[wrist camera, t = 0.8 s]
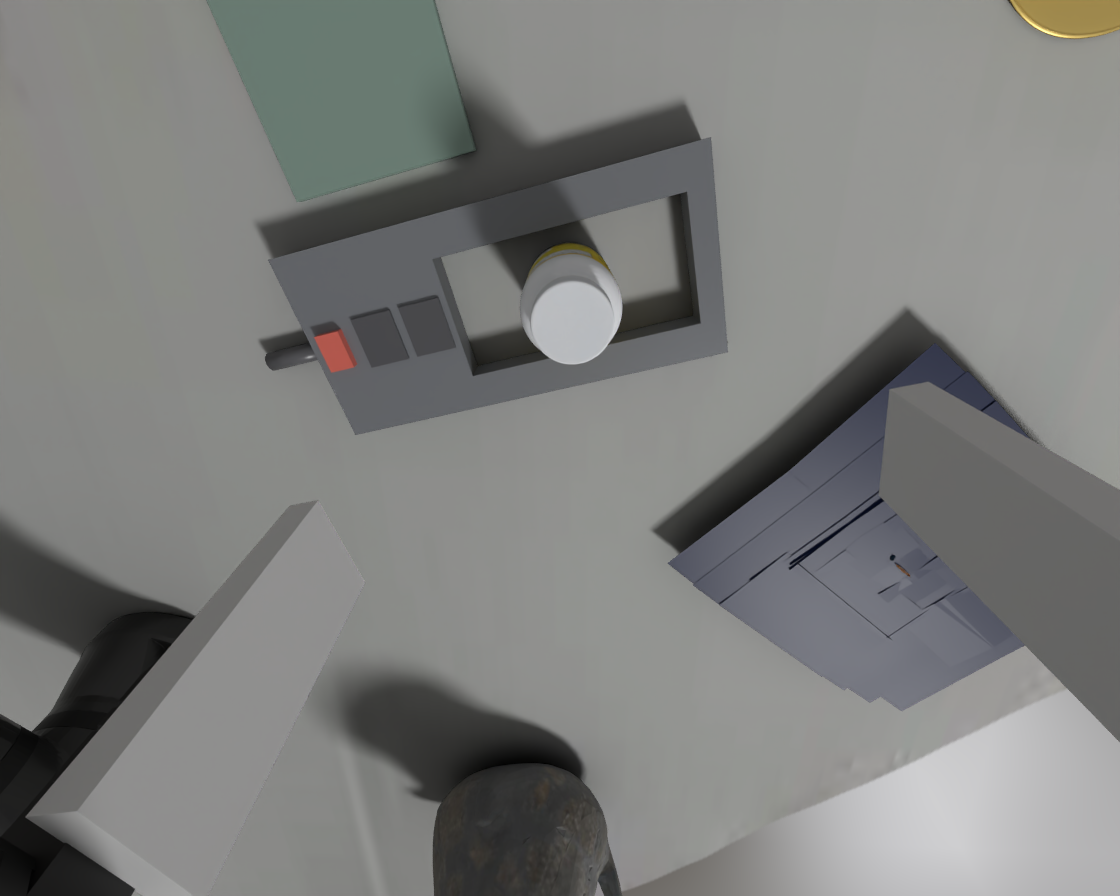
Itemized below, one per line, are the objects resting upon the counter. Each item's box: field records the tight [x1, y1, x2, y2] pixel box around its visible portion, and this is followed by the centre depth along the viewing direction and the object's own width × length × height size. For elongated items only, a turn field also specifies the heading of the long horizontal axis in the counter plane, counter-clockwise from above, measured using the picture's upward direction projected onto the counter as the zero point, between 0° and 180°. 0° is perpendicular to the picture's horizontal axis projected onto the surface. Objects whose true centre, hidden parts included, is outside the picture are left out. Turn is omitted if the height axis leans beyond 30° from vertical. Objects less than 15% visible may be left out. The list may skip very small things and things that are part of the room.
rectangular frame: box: [265, 137, 728, 435], centre depth 31 cm, size 30×12×3 cm, turn 104°
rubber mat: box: [207, 0, 476, 202], centre depth 26 cm, size 11×11×1 cm
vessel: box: [433, 763, 622, 896], centre depth 52 cm, size 22×22×20 cm
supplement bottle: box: [520, 242, 622, 364], centre depth 27 cm, size 5×5×10 cm
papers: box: [668, 343, 1031, 711], centre depth 40 cm, size 24×30×4 cm
